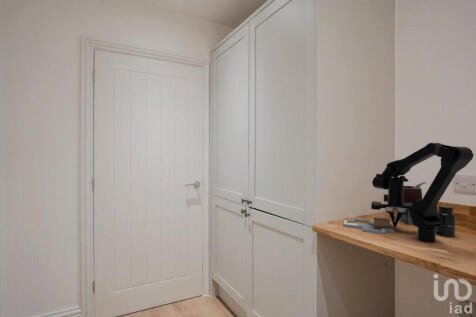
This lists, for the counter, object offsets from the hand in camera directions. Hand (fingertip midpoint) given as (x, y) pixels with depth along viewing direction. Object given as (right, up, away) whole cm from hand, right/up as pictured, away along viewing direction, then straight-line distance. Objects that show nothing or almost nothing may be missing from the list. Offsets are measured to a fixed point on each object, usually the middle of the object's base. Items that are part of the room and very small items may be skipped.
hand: (394, 226), depth 118 cm
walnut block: (-5, -1, +2) cm, 5 cm away
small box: (+17, -3, +12) cm, 21 cm away
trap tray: (-9, -2, +4) cm, 10 cm away
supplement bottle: (+20, -3, -3) cm, 20 cm away
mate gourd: (+20, -2, +23) cm, 31 cm away
